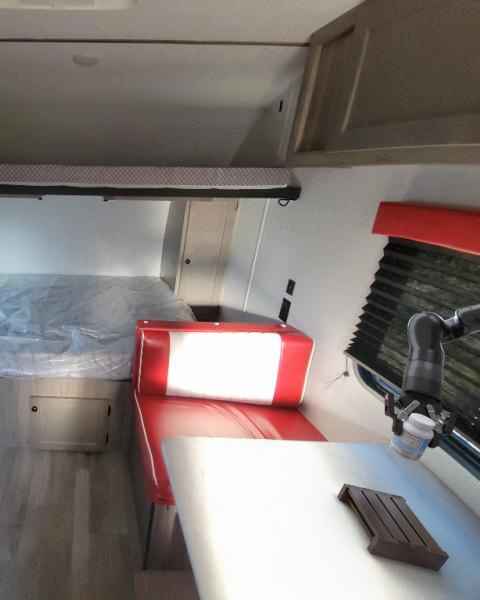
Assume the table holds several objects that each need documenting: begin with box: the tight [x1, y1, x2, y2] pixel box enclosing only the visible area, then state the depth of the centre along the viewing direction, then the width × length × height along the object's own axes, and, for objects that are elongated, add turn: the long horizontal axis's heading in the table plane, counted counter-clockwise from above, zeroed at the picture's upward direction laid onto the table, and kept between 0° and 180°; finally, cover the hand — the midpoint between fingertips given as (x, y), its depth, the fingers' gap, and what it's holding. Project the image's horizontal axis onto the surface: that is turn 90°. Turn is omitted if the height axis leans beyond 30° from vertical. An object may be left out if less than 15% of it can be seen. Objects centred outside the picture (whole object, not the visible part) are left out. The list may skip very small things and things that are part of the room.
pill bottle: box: [389, 413, 435, 462], centre depth 86 cm, size 6×6×11 cm
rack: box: [337, 483, 450, 572], centre depth 82 cm, size 14×15×5 cm
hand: (414, 441), depth 85 cm, fingers closed on pill bottle, 6 cm apart
